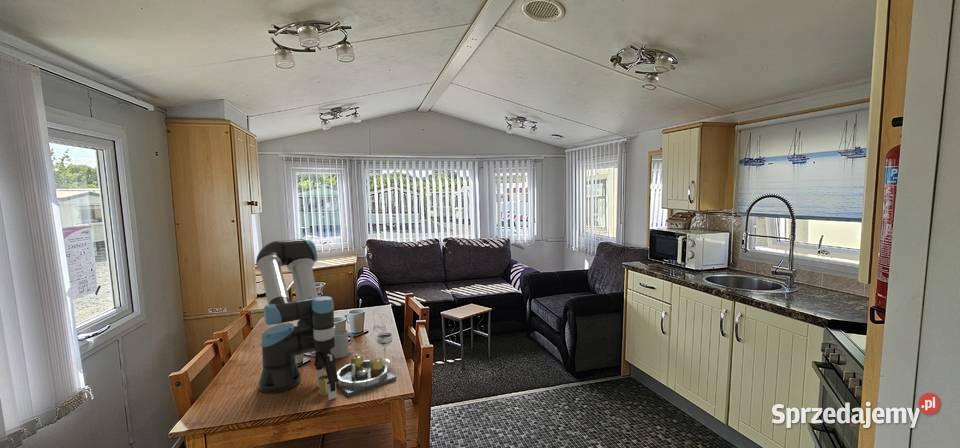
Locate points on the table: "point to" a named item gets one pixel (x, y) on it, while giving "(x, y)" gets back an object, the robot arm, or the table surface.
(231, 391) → the table surface
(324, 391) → the yellow hollow cylinder
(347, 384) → the carrier
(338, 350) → the mug
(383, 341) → the wineglass
